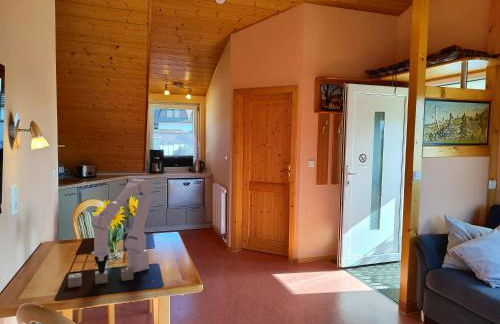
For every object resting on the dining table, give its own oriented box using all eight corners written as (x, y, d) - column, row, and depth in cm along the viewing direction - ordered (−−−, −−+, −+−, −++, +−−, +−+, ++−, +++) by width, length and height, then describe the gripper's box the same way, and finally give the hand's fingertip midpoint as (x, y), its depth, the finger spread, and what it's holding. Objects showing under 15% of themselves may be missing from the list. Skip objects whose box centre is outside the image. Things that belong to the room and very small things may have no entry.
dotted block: (81, 281, 161) (81, 272, 160) (81, 285, 156) (80, 276, 156) (69, 283, 159) (68, 273, 158) (68, 287, 154) (67, 277, 154)
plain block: (107, 278, 165) (107, 269, 164) (107, 282, 160) (107, 273, 160) (95, 280, 163) (95, 271, 162) (95, 284, 158) (95, 275, 158)
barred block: (132, 275, 169) (132, 266, 168) (133, 279, 164) (133, 270, 164) (121, 276, 167) (121, 267, 167) (121, 280, 162) (121, 271, 162)
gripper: (92, 238, 166) (92, 267, 167) (90, 247, 152) (91, 278, 153) (108, 237, 168) (109, 265, 169) (108, 245, 155) (109, 276, 156)
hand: (101, 271), depth 161 cm, fingers closed
